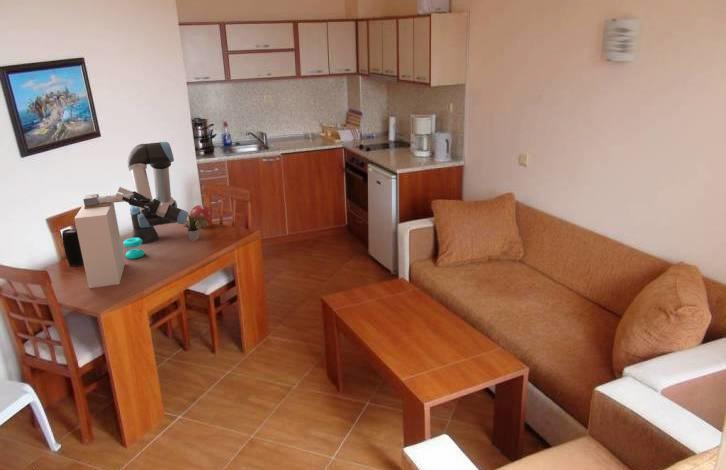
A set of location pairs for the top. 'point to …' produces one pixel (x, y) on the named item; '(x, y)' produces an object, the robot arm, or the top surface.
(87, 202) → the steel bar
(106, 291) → the top surface
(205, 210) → the decorative mushroom
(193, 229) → the house plant
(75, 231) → the portable speaker
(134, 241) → the donuts
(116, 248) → the tall cream pillar block
